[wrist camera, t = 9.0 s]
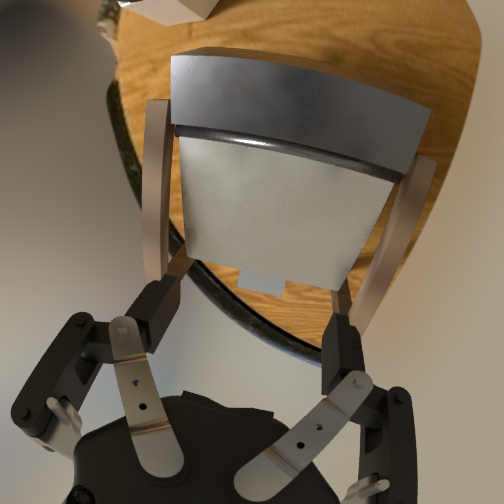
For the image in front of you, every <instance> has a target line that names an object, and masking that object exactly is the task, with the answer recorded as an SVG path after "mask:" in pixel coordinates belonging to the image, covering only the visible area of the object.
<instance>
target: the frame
mask: <svg viewBox="0 0 504 504" xmlns="http://www.w3.org/2000/svg"><path fill="white" fill-rule="evenodd" d="M174 130H175V124H171V99H158V100H147V109H146V120H145V133H144V148H143V172H142V231H143V254H144V270H145V284H146V285H147V284H148V283H150V282H152V281H153V280H158V281H160V280H161V278H162V277H163V276H164V274H165V273H169V274H173V275H177V276H180V280H182V279H183V277H184V275H185V274H186V272H187V271H188V269H189V268H190V266H191V264H192V263H193V261H194V260H195V259H194V258H190V257H187V252H186V241H185V243H184V244H183V245H182V247H181V248H180V249H179V250H178V252H177V253H176V254H175V256H174V257H173V258H172V259H171V261H170V262H169V263H168V228H169V198H170V179H171V164H172V151H173V140H174ZM437 163H438V162H436V161H434V160H432V159H430V158H428V157H426V156H424V155H422V154H420V153H418V152H416V153H415V155H414V157H413V160H412V162H411V164H410V167H409V169H408V171H407V173H406V174H403V176H402V180H401V183H400V186H399V189H398V192H397V195H396V198H395V201H394V204H393V207H392V210H391V213H390V216H389V218H388V221H387V224H386V226H385V229H384V232H383V234H382V237H381V240H380V242H379V245H378V247H377V250H376V252H375V255H374V257H373V259H372V262H371V264H370V267H369V269H368V271H367V273H366V276H365V278H364V280H363V283H362V285H361V287H360V289H359V291H358V294H357V296H356V298H355V300H354V302H353V304H352V301H351V296H350V290H349V285H348V280H347V277H346V279H345V281H344V282H343V284H342V286H341V287H340V289H339V291H335V290H331V296H332V306H333V313H334V312H336V313H341V314H346V315H348V316H349V322H350V325H352V326H355V327H356V328H357V330H358V332H359V333H360V337H362V335H363V333H364V332H365V330H366V328H367V326H368V325H369V323H370V321H371V319H372V318H373V316H374V314H375V312H376V310H377V308H378V307H379V305H380V303H381V301H382V299H383V297H384V295H385V293H386V291H387V289H388V287H389V285H390V283H391V281H392V279H393V277H394V275H395V273H396V271H397V269H398V266H399V264H400V262H401V260H402V258H403V255H404V253H405V251H406V249H407V246H408V244H409V242H410V239H411V237H412V234H413V232H414V229H415V227H416V224H417V222H418V219H419V217H420V214H421V211H422V209H423V206H424V203H425V200H426V198H427V195H428V192H429V189H430V186H431V183H432V180H433V176H434V173H435V170H436V167H437Z"/></svg>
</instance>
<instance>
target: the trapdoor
mask: <svg viewBox="0 0 504 504" xmlns="http://www.w3.org/2000/svg"><path fill="white" fill-rule="evenodd" d="M431 111H432V110H431V109H430V108H429V107H428V106H426V105H425V104H424V103H423V102H422V101H420V100H419V99H418V98H417V97H415V96H414V95H413V94H412V93H410V92H409V91H408V90H406V89H405V88H403V87H400V86H398V85H395V84H393V83H390V82H387V81H384V80H382V79H379V78H376V77H373V76H370V75H367V74H364V73H361V72H357V71H354V70H351V69H347V68H344V67H340V66H336V65H333V64H329V63H324V62H320V61H316V60H311V59H307V58H302V57H297V56H291V55H285V54H279V53H273V52H266V51H258V50H249V49H238V48H225V47H202V48H198V49H194V50H190V51H186V52H182V53H178V54H175V55H171V124H176V126H175V130H174V134H175V137H179V143H180V169H181V188H182V204H183V218H184V230H185V241H186V252H187V257H190V258H194V259H198V260H202V261H206V262H210V263H215V264H219V265H223V266H227V267H232V268H236V269H240V270H245V271H249V272H253V273H258V274H262V275H266V276H271V277H275V278H280V279H284V280H289V281H293V282H298V283H302V284H307V285H312V286H316V287H321V288H325V289H330V290H335V291H339V289H340V287H341V286H342V284H343V282H344V281H345V279H346V277H347V275H348V274H349V272H350V270H351V268H352V266H353V265H354V263H355V261H356V259H357V257H358V256H359V254H360V252H361V250H362V248H363V246H364V244H365V242H366V241H367V239H368V237H369V235H370V233H371V231H372V229H373V227H374V225H375V223H376V221H377V219H378V217H379V215H380V213H381V211H382V209H383V207H384V205H385V202H386V200H387V198H388V196H389V194H390V192H391V190H392V187H393V185H394V184H395V185H399V183H400V181H401V178H402V173H403V174H406V173H407V171H408V169H409V167H410V164H411V162H412V160H413V157H414V155H415V153H416V150H417V148H418V145H419V143H420V140H421V138H422V135H423V133H424V130H425V128H426V125H427V122H428V120H429V117H430V114H431Z"/></svg>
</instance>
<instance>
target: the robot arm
mask: <svg viewBox="0 0 504 504" xmlns="http://www.w3.org/2000/svg"><path fill="white" fill-rule="evenodd" d="M180 281H181V280H180V276H177V275H173V274H169V273H165V274H164V276H163V277H162V278H161V280H160V281H158V280H153V281H152V282H150V283H148V284H147V285H146V286H145V288H144V289H143V291H142V292H141V293H140V295H139V296H138V298H136V300H135V301H134V303H133V304H132V305H131V307H130V308H129V309H128V311H127V313H126V314H125V315H124V316H119V317H116V318H114V319H113V320H112V321H111V322H97V321H94V319H93V317H92V316H91V314H89V313H86V312H79V313H76V314H74V315H72V316H71V317H70V318H69V320H68V321H67V323H66V324H65V325H64V327H63V328H62V329H61V331H60V332H59V333H58V335H57V336H56V338H55V339H54V341H53V342H52V343H51V345H50V346H49V348H48V349H47V351H46V352H45V354H44V355H43V356H42V358H41V360H40V361H39V362H38V364H37V366H36V367H35V369H34V370H33V372H32V373H31V375H30V377H29V378H28V380H27V381H26V383H25V385H24V386H23V388H22V390H21V391H20V393H19V395H18V397H17V398H16V400H15V402H14V403H13V405H12V408H11V417H12V420H13V422H14V423H15V424H16V425H17V426H18V427H19V428H20V429H21V430H22V431H23V432H24V433H25V434H26V435H27V436H28V437H30V438H31V439H32V440H33V441H35V442H36V443H37V444H39V445H41V446H42V447H43V448H45V449H46V450H48V451H51V452H55V451H56V452H58V453H60V454H61V455H63V456H65V457H66V458H68V459H70V460H72V461H73V462H74V483H73V487H72V489H71V491H70V493H69V495H68V496H67V497H66V499H65V500H64V502H63V503H62V504H417V495H418V491H417V489H418V477H417V450H416V436H415V426H414V416H413V407H412V400H411V396H410V394H409V393H408V392H407V390H405V389H404V388H402V387H398V386H397V387H392V388H391V389H390V390H389V391H387V390H385V389H382V388H380V387H377V386H375V385H374V384H373V381H372V379H371V378H370V376H369V375H368V374H366V373H365V365H364V358H363V351H362V344H361V337H360V333H359V332H358V330H357V328H356V327H355V326H352V325H350V322H349V316H348V315H346V314H341V313H336V312H334V313H333V314H332V316H331V319H330V321H329V323H328V325H327V327H326V329H325V331H324V334H323V337H322V395H327V397H326V398H324V399H323V400H321V402H319V403H318V404H317V405H316V406H315V407H314V408H313V409H312V410H311V411H310V412H309V413H308V414H307V415H306V416H305V417H304V418H303V419H302V420H300V421H299V422H298V423H297V424H296V425H295V426H294V427H293V428H291V429H289V428H288V427H287V426H286V425H285V424H283V423H282V422H280V421H278V420H277V419H274V418H273V415H274V412H271V411H265V410H260V409H255V408H227V407H224V406H222V405H220V404H219V403H217V402H215V401H213V400H211V399H209V398H207V397H205V396H201V395H198V394H194V393H191V392H188V391H183V393H182V396H167V397H163V398H160V397H159V394H158V391H157V388H156V385H155V382H154V379H153V376H152V373H151V370H150V366H149V363H148V360H147V357H146V355H145V354H146V352H148V353H151V354H154V352H155V350H156V348H157V347H158V345H159V343H160V341H161V339H162V337H163V335H164V333H165V332H166V330H167V328H168V326H169V324H170V322H171V321H172V319H173V317H174V315H175V313H176V312H177V309H178V307H179V304H180ZM103 363H107V364H114V369H115V374H116V378H117V382H118V387H119V391H120V395H121V399H122V403H123V407H124V411H125V414H126V416H124V417H121V418H119V419H117V420H115V421H113V422H111V423H109V424H107V425H105V426H102V427H100V428H98V429H96V430H93V431H91V432H89V433H87V434H85V435H84V436H83V437H81V433H80V431H81V427H82V420H81V417H80V415H79V414H78V411H79V409H80V407H81V405H82V403H83V401H84V399H85V397H86V395H87V393H88V391H89V389H90V387H91V385H92V383H93V382H94V380H95V378H96V376H97V374H98V372H99V370H100V368H101V366H102V365H103ZM348 421H351V422H354V423H356V424H359V425H361V432H360V433H361V434H360V457H359V474H358V481H357V482H355V483H353V484H352V485H351V486H350V487H349V488H348V490H347V493H346V496H345V498H344V500H343V501H342V502H340V501H339V499H338V497H337V495H336V494H335V492H334V491H333V490H332V488H331V487H330V485H329V484H328V483H327V482H326V480H325V478H324V477H323V476H322V474H321V473H320V471H319V470H318V469H317V467H316V466H315V464H314V463H313V461H312V460H313V459H314V458H315V457H316V456H317V455H318V454H319V453H320V452H321V451H322V450H323V449H324V448H325V447H326V446H327V445H328V444H329V443H330V441H331V440H332V439H333V438H334V437H335V436H336V435H337V434H338V433H339V431H340V430H341V429H342V428H343V427H344V426H345V424H346V423H347V422H348Z"/></svg>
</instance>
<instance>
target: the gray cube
mask: <svg viewBox="0 0 504 504" xmlns="http://www.w3.org/2000/svg"><path fill="white" fill-rule="evenodd" d="M285 283H286V280H284V279H280V278H275V277H271V276H266V275H262V274H258V273H253V272H249V271H245V270H240V273H239V279H238V285H237V287H239V288H243V289H248V290H252V291H256V292H261V293H265V294H269V295H274V296H278V297H282V293H283V290H284V286H285Z"/></svg>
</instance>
